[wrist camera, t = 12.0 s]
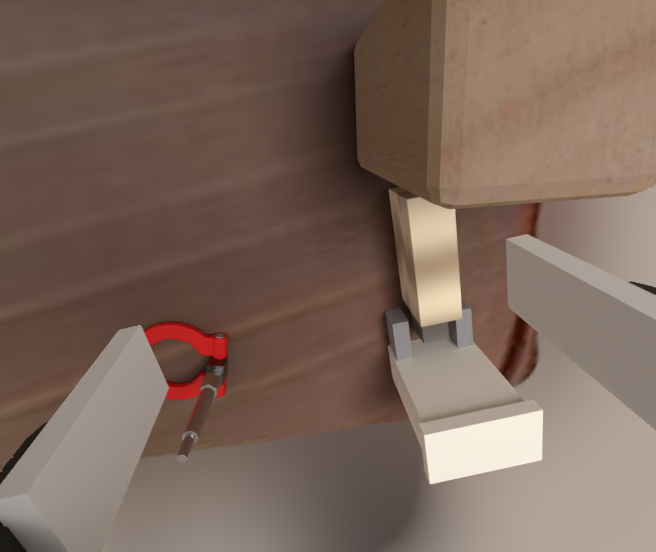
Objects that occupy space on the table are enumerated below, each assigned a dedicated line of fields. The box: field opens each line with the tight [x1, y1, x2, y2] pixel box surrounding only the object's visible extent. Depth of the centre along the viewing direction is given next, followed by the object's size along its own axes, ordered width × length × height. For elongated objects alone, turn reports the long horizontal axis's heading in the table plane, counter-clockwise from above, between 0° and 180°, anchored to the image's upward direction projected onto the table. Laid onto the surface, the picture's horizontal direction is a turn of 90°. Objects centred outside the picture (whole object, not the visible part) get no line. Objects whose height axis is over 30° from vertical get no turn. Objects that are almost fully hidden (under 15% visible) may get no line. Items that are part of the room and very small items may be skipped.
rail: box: [389, 187, 462, 344], centre depth 35 cm, size 14×4×6 cm, turn 11°
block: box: [354, 0, 656, 209], centre depth 24 cm, size 10×10×20 cm
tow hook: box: [144, 322, 228, 463], centre depth 33 cm, size 8×13×9 cm
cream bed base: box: [385, 299, 543, 484], centre depth 35 cm, size 8×9×13 cm
